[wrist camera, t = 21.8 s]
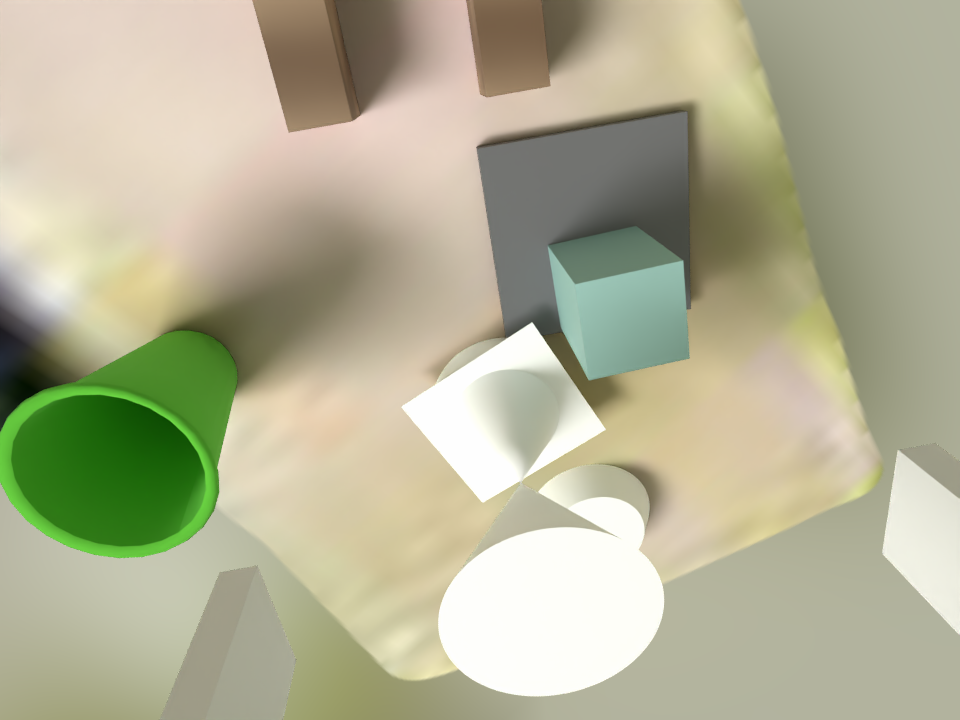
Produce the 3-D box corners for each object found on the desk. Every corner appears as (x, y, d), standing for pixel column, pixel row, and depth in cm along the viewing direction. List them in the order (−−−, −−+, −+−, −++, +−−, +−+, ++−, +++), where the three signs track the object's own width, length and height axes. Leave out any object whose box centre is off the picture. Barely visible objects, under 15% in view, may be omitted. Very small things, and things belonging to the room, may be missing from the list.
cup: (194, 264, 34) (100, 343, 24) (304, 383, 38) (261, 494, 28) (77, 352, 36) (-57, 460, 26) (193, 459, 40) (114, 590, 30)
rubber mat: (476, 147, 33) (477, 148, 32) (681, 110, 33) (687, 111, 32) (505, 336, 38) (507, 341, 37) (685, 304, 38) (690, 308, 37)
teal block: (547, 245, 35) (574, 284, 28) (636, 225, 35) (683, 260, 28) (560, 326, 37) (588, 380, 31) (643, 308, 37) (689, 358, 30)
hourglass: (673, 523, 45) (806, 766, 29) (564, 583, 46) (636, 844, 31) (526, 308, 37) (600, 483, 21) (402, 389, 39) (386, 607, 23)
